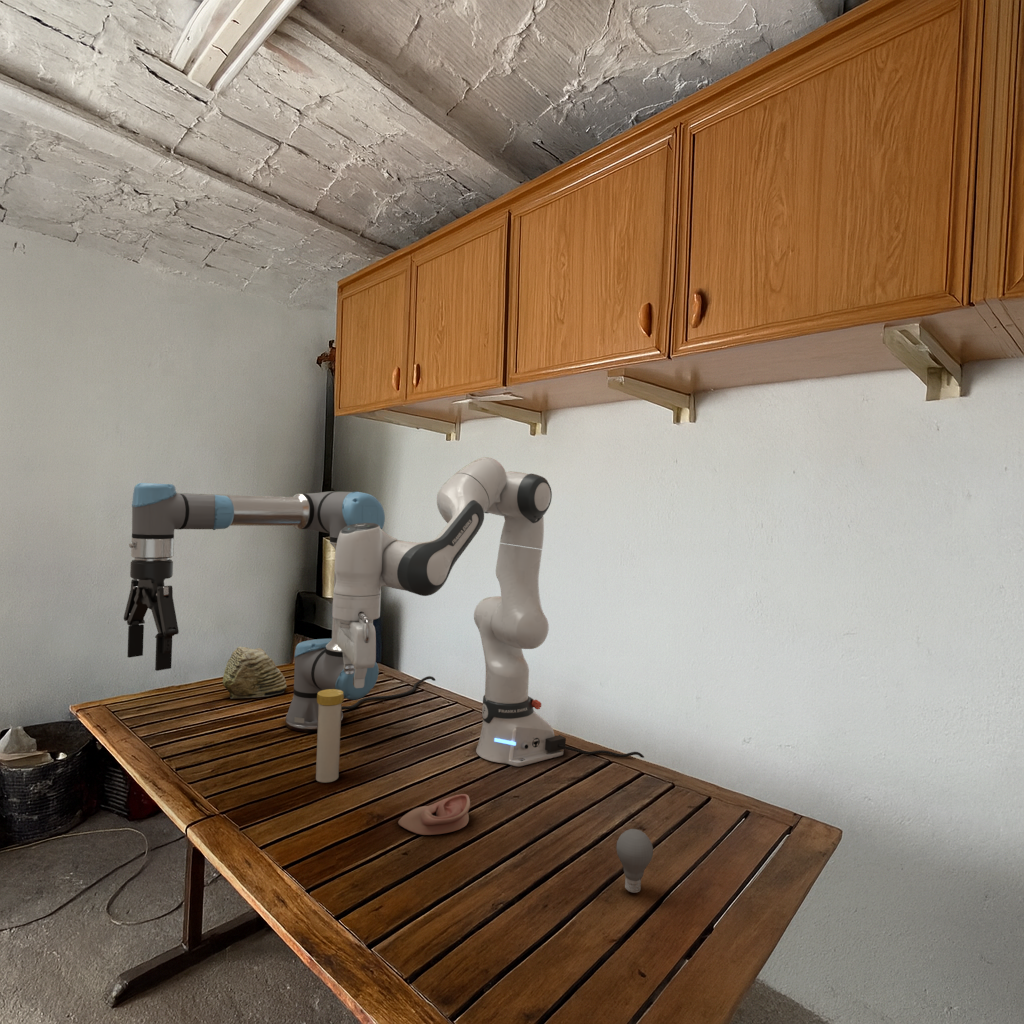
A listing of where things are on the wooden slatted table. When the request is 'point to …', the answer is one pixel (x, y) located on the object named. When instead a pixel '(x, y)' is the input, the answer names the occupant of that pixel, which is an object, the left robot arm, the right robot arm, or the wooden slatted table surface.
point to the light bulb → (634, 857)
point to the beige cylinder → (328, 743)
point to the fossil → (252, 674)
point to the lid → (330, 697)
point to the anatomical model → (438, 816)
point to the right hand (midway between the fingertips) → (353, 680)
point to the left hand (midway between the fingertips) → (148, 662)
